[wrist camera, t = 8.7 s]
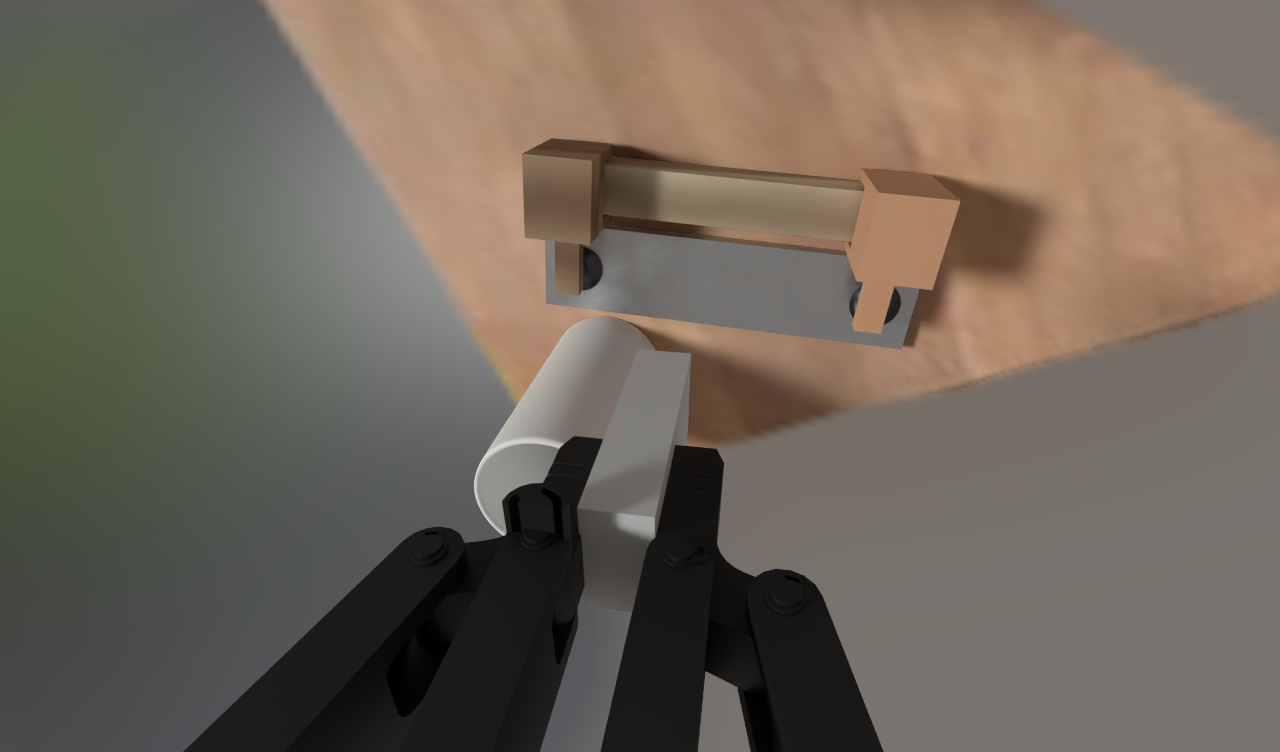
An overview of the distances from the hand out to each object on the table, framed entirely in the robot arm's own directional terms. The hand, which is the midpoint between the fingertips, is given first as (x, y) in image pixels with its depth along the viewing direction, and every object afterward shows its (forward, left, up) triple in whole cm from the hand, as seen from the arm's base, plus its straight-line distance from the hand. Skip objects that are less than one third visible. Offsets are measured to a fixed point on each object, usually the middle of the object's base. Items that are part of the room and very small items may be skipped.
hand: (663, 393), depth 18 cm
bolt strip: (+6, +1, -26) cm, 27 cm away
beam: (0, +1, -26) cm, 26 cm away
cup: (+14, -7, -26) cm, 30 cm away
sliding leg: (+2, +10, -25) cm, 27 cm away
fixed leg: (+2, -9, -25) cm, 27 cm away
